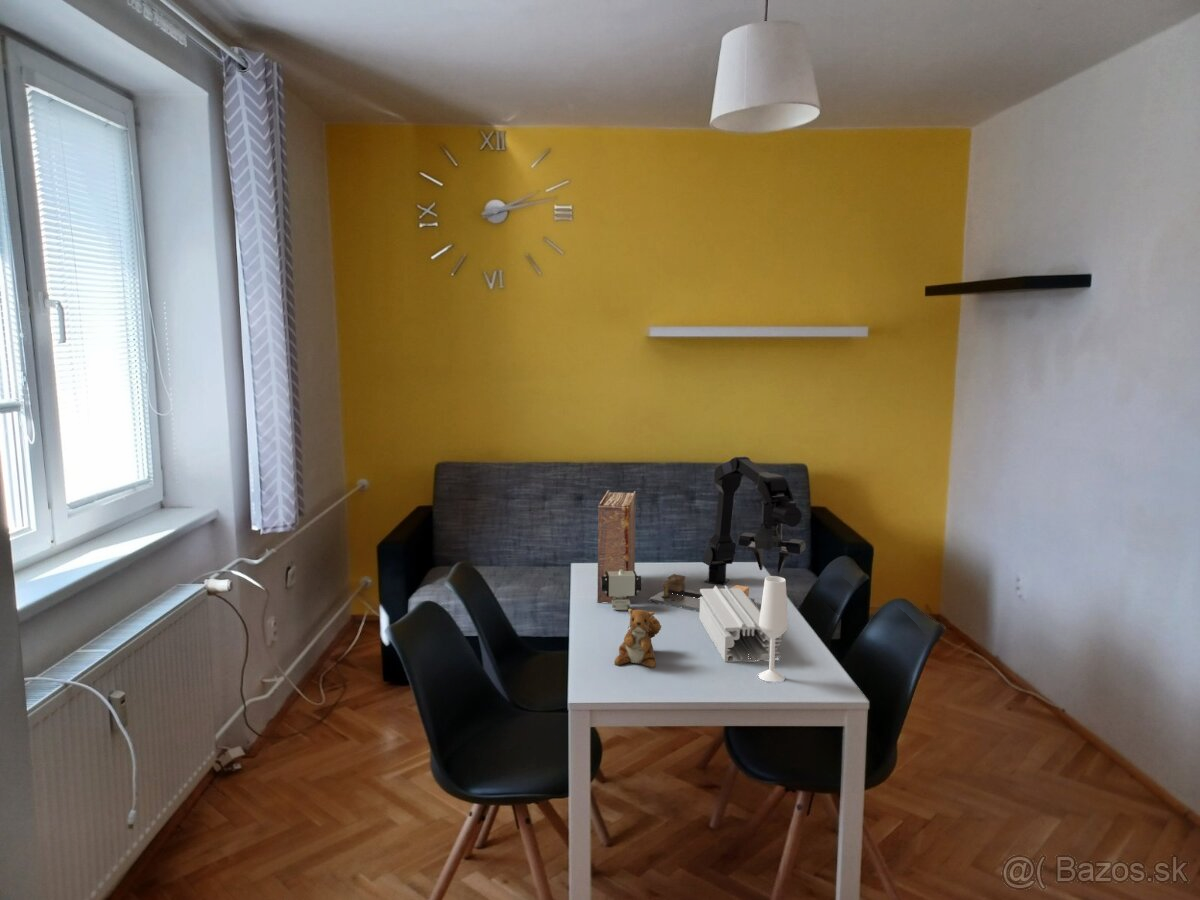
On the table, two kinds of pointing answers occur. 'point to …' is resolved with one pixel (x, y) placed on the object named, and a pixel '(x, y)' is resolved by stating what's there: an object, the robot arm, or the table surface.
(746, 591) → the sliding leg
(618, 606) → the pneumatic valve
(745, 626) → the aluminum extrusion profile
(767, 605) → the champagne flute
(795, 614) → the table surface
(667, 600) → the bolt-hole strip
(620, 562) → the book
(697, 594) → the rail
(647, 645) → the stuffed squirrel
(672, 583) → the fixed leg
